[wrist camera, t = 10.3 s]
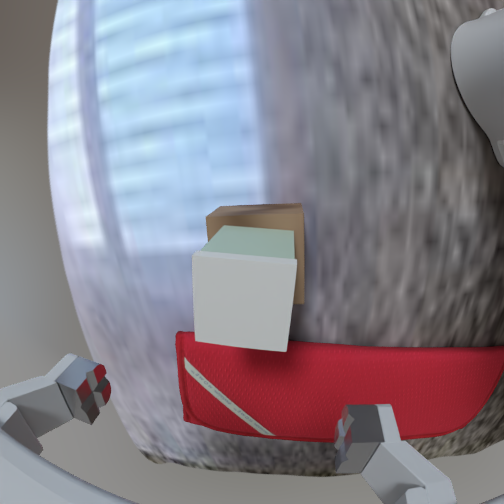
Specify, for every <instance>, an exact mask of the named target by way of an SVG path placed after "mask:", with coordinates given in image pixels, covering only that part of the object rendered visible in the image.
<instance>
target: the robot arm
mask: <svg viewBox="0 0 504 504" xmlns="http://www.w3.org/2000/svg"><path fill="white" fill-rule="evenodd" d="M451 61H452V67H453V72H454V76H455V79H456V83H457V85H458V88H459V91H460V93H461V95H462V98H463V100H464V102H465V104H466V106H467V107H468V109H469V111H470V112H471V114H472V116H473V117H474V119H475V120H476V121H477V123H478V124H479V125H480V127H481V128H482V129H483V130H484V132H485V133H486V134H487V136H488V138H489V139H490V142H491V145H492V148H493V151H494V153H495V156H496V158H497V161H498V162H499V164H500V165H501V166H502V167H504V8H503V9H500V10H498V11H497V10H495V9H493V8H490V9H487V10H485V11H484V12H483V13H482V15H481V16H480V18H479V19H476V20H472V21H468V22H465V23H463V24H462V25H461V26H460V27H459V28H458V29H457V30H456V32H455V34H454V36H453V39H452V44H451ZM105 375H106V370H105V367H104V366H103V365H101V364H99V363H96V362H93V361H91V360H88V359H85V358H82V357H79V356H77V355H74V354H72V353H70V354H66V355H65V357H63V359H61V360H60V362H58V364H56V365H55V366H54V367H53V368H52V369H51V370H50V371H49V373H47V375H46V376H39V377H35V378H32V379H29V380H26V381H23V382H20V383H17V384H13V385H10V386H7V387H4V388H0V504H138V503H135V502H133V501H130V500H127V499H125V498H122V497H120V496H117V495H115V494H112V493H110V492H108V491H106V490H103V489H101V488H99V487H97V486H94V485H92V484H90V483H88V482H86V481H84V480H82V479H80V478H78V477H76V476H74V475H72V474H70V473H69V472H67V471H65V470H63V469H61V468H60V467H58V466H56V465H54V464H52V463H51V462H49V461H47V460H46V459H44V458H42V457H41V456H39V455H40V453H41V452H42V451H43V447H42V445H41V444H40V443H39V441H38V439H37V438H38V437H40V436H42V435H44V434H45V433H47V432H49V431H51V430H53V429H55V428H57V427H59V426H61V425H62V424H64V423H66V422H68V421H70V420H72V419H73V418H76V419H78V420H81V421H83V422H85V423H88V424H90V425H92V424H93V422H94V421H95V419H96V418H97V416H98V415H99V413H100V410H99V407H102V406H104V405H106V403H107V402H108V400H109V398H110V394H111V386H110V382H109V381H108V380H107V379H106V377H105ZM341 413H342V419H340V420H339V421H338V422H337V425H336V429H335V434H334V447H335V448H336V449H337V450H338V452H337V454H336V456H335V467H336V473H361V475H362V476H363V477H364V479H365V480H366V482H367V483H368V484H369V486H370V487H371V488H372V489H373V491H374V492H375V493H376V494H377V496H378V497H379V498H380V500H381V501H382V502H383V503H384V504H457V501H456V497H455V493H454V490H453V486H452V482H451V479H449V478H448V477H447V476H446V475H445V474H443V473H442V472H441V471H440V470H438V469H437V468H436V467H435V466H434V465H433V464H432V463H430V462H429V461H428V460H427V459H426V458H425V457H423V456H422V455H421V454H420V453H419V452H418V451H416V450H415V449H414V448H413V447H412V446H411V445H409V444H408V443H407V442H406V441H401V438H400V434H399V431H398V427H397V423H396V420H395V416H394V413H393V409H392V406H391V405H390V404H375V405H374V404H359V405H349V404H345V406H344V407H343V409H342V412H341ZM481 504H504V494H503V495H500V496H498V497H495V498H493V499H491V500H488V501H486V502H483V503H481Z"/></svg>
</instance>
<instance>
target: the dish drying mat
mask: <svg viewBox="0 0 504 504" xmlns="http://www.w3.org/2000/svg"><path fill="white" fill-rule="evenodd" d="M175 345H176V353H177V365H178V378H179V389H180V395H181V400H182V404H183V414H184V417H183V418H184V421H186V422H190V423H193V424H197V425H202V426H205V427H207V428H210V429H213V430H216V431H221V432H226V433H231V434H237V435H243V436H253V437H262V438H270V439H282V440H293V441H308V442H334V434H335V429H336V425H337V422H338V421H339V420H340V419H342V413H341V412H342V409H343V407H344V406H345V404H349V405H359V404H374V405H375V404H390V405H391V406H392V409H393V413H394V416H395V420H396V423H397V427H398V431H399V434H400V438H401V440H407V439H417V438H429V437H437V436H442V435H446V434H449V433H451V432H454V431H456V430H458V429H462V428H464V427H465V426H466V425H467V424H468V423H469V422H470V421H471V420H472V419H473V418H474V417H475V416H476V415H477V414H478V413H479V412H480V410H481V409H482V408H483V406H484V405H485V404H486V402H487V401H488V399H489V397H490V396H491V394H492V393H493V391H494V389H495V387H496V386H497V383H498V382H499V379H500V377H501V375H502V373H503V371H504V346H493V347H430V348H421V347H367V346H356V345H344V344H330V343H313V342H301V341H288V344H287V351H286V352H281V351H270V350H260V349H251V348H242V347H234V346H226V345H219V344H212V343H205V342H198V341H195V332H183V331H178V332H177V334H176V344H175Z"/></svg>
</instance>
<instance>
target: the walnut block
mask: <svg viewBox="0 0 504 504" xmlns="http://www.w3.org/2000/svg"><path fill="white" fill-rule="evenodd" d="M224 225H227V226H240V227H253V228H266V229H278V230H290V231H294V253H295V259H297V271H296V280H295V288H294V297H293V304H304V213H303V209H302V205H301V203H294V204H262V205H238V206H220V207H219V208H217V209H216V210H215V211H213V212H212V213H210V214H209V215H208V216H206V226H207V236H208V242H209V241H210V240H211V238H212V237H213V236H214V235H215V234H216V233H217V232H218V231H219V230H220V229H221V228H222V227H223V226H224Z"/></svg>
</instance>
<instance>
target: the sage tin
mask: <svg viewBox="0 0 504 504" xmlns="http://www.w3.org/2000/svg"><path fill="white" fill-rule="evenodd" d="M296 271H297V259H295V253H294V231H290V230H278V229H266V228H253V227H240V226H227V225H224V226H223V227H222V228H221V229H220V230H219V231H218V232H217V233H216V234H215V235H214V236H213V237H212V238H211V240H210V241H209V242H208V243H207V244H206V245H205V246H204V247H203V248H202V249H201V250H200V251H196V252H195V253H194V254H193V255H192V277H193V306H194V328H195V341H198V342H205V343H212V344H219V345H226V346H234V347H242V348H251V349H260V350H270V351H281V352H286V351H287V344H288V336H289V329H290V321H291V313H292V305H293V297H294V288H295V280H296Z"/></svg>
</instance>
